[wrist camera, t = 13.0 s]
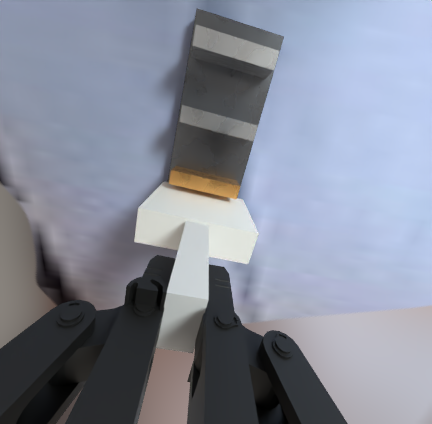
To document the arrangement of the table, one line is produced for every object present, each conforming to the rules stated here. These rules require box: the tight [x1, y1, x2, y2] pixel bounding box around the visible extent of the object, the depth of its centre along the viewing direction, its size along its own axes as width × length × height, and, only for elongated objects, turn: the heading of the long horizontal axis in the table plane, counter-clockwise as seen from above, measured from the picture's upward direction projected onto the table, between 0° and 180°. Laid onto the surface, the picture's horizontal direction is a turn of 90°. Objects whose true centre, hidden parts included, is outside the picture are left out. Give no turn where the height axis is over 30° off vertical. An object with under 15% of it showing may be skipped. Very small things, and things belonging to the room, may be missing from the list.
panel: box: [134, 182, 259, 264], centre depth 17 cm, size 2×8×8 cm, turn 76°
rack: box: [168, 9, 284, 199], centre depth 19 cm, size 20×7×4 cm, turn 166°
